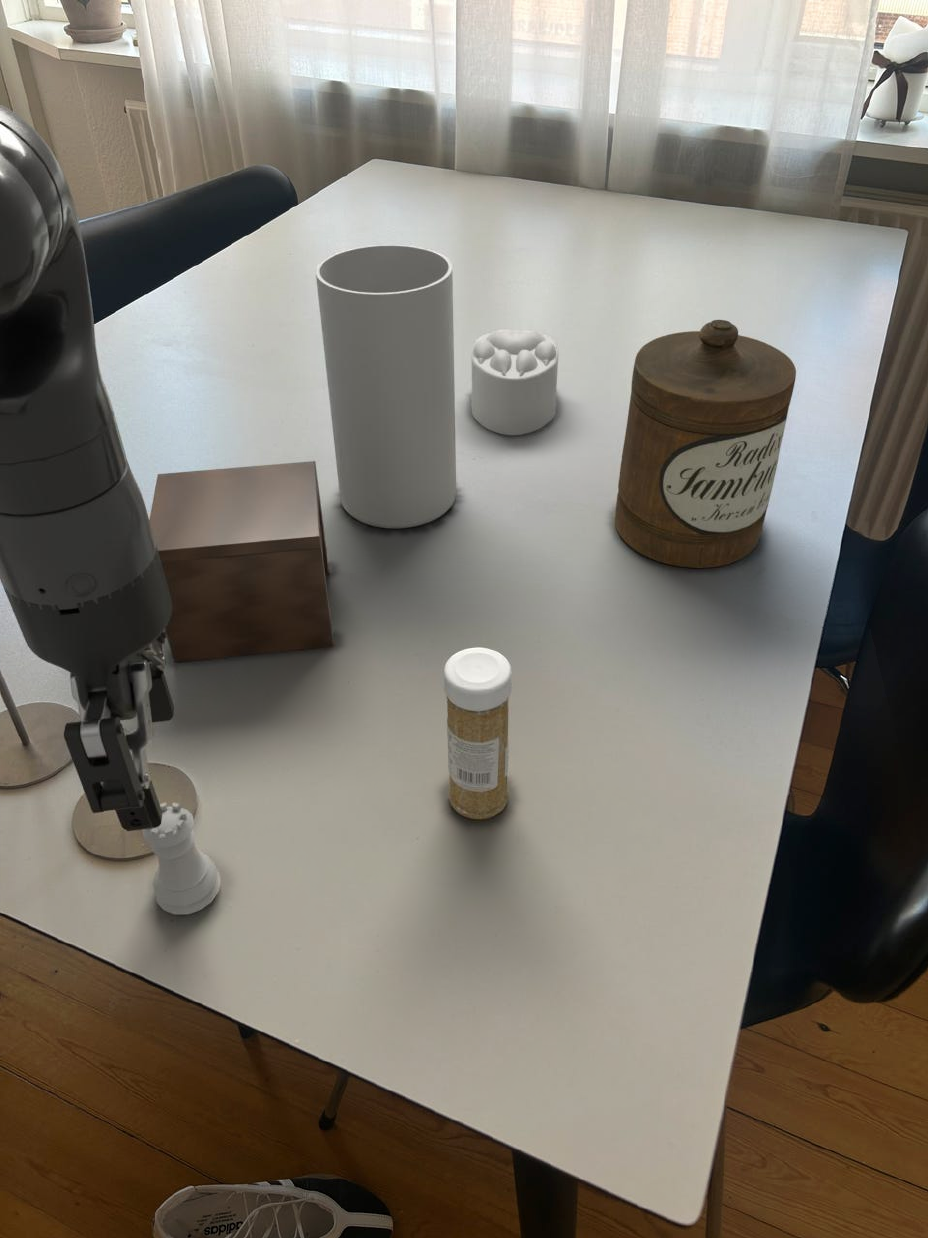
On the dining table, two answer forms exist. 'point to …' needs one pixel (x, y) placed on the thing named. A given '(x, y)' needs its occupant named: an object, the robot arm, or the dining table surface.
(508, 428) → the lumpy-topped squat cylinder
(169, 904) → the rook chess piece
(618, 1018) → the dining table surface
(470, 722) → the sprinkles bottle
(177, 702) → the dining table surface
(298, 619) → the wooden lidded box
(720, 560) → the wooden container
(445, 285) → the cylinder vase
